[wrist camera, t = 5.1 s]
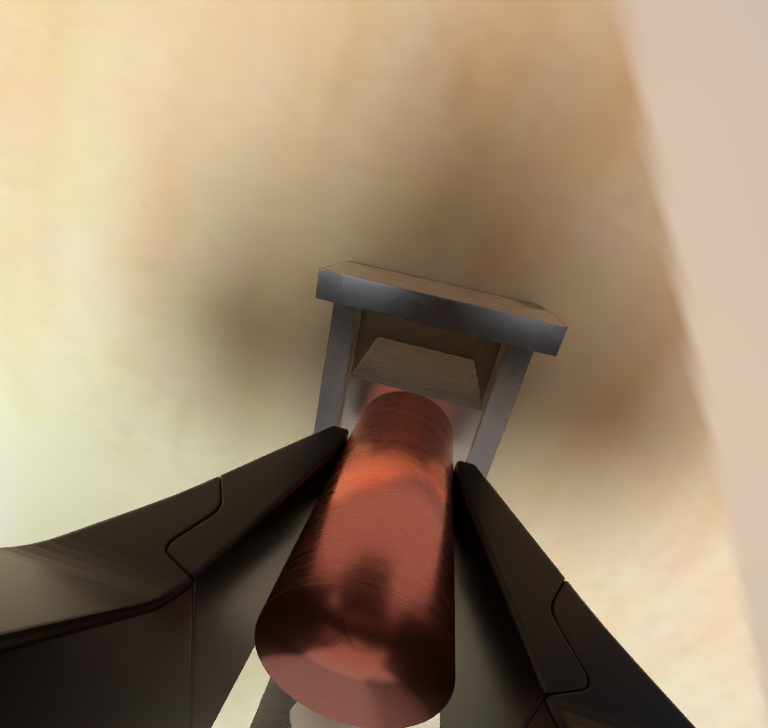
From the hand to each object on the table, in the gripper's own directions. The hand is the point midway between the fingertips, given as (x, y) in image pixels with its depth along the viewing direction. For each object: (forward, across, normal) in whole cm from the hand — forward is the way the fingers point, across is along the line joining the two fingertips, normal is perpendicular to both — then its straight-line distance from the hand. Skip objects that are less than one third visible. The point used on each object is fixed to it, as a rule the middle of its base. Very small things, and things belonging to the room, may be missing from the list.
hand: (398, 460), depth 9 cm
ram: (+5, 0, +1) cm, 5 cm away
